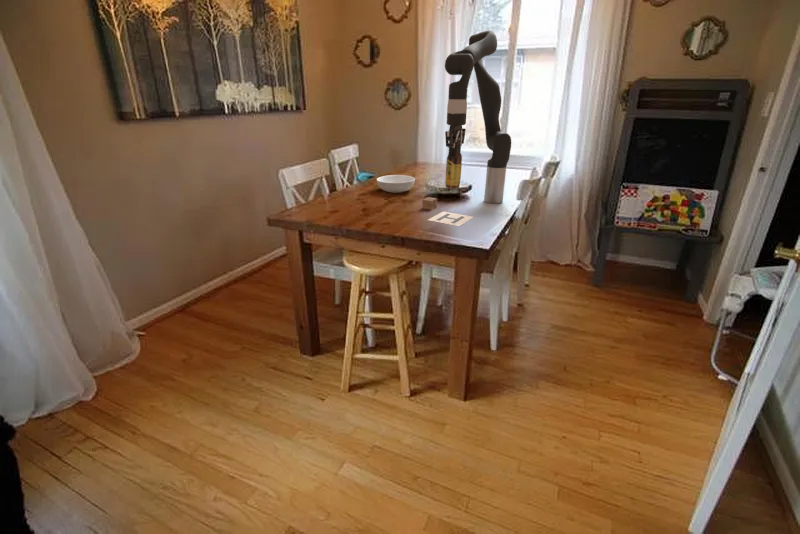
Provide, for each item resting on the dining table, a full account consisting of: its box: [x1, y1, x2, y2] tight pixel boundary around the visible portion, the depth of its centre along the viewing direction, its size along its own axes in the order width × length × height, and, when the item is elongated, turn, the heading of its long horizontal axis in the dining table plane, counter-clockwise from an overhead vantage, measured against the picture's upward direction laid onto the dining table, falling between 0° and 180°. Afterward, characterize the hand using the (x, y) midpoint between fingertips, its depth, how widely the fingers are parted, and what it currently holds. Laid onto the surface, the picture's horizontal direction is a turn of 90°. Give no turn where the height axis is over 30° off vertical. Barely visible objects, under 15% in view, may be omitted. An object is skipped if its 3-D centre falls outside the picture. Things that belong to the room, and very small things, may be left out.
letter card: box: [427, 210, 474, 227], centre depth 173 cm, size 15×15×1 cm
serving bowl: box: [376, 174, 416, 194], centre depth 219 cm, size 21×21×7 cm
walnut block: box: [421, 196, 438, 211], centre depth 187 cm, size 5×5×5 cm
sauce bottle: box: [445, 139, 463, 190], centre depth 163 cm, size 6×6×20 cm
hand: (454, 156), depth 162 cm, fingers closed on sauce bottle, 5 cm apart
